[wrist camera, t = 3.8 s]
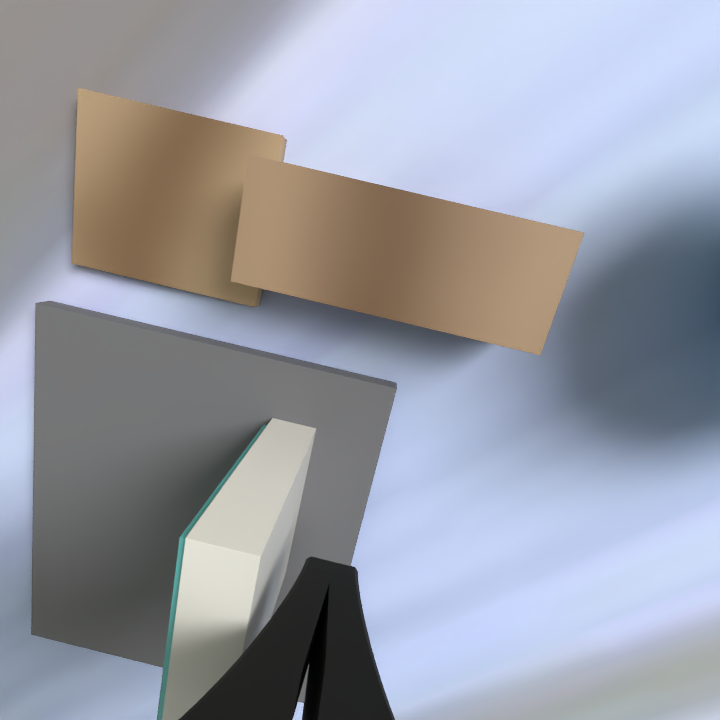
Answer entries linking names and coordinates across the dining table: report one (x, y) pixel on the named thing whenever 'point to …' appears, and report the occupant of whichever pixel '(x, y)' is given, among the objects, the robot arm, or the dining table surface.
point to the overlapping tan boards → (301, 229)
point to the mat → (171, 465)
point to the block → (233, 564)
